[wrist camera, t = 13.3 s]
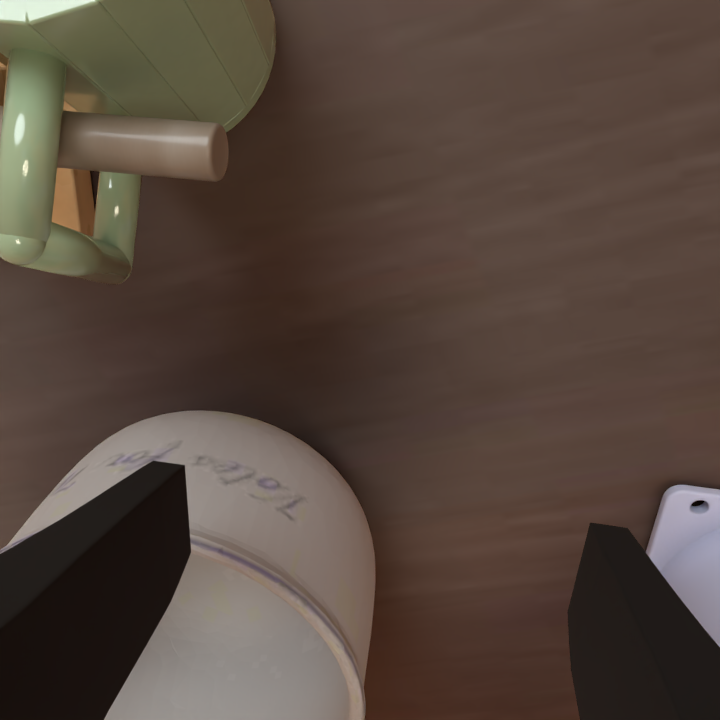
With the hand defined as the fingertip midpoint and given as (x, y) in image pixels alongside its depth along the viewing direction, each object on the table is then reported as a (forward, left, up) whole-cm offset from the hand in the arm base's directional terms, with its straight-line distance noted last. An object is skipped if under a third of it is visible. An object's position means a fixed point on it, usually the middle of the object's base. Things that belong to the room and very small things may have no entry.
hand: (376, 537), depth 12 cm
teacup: (+7, +8, -10) cm, 14 cm away
